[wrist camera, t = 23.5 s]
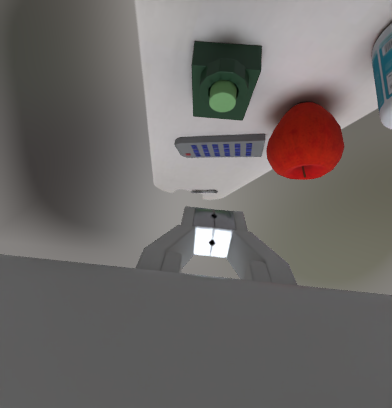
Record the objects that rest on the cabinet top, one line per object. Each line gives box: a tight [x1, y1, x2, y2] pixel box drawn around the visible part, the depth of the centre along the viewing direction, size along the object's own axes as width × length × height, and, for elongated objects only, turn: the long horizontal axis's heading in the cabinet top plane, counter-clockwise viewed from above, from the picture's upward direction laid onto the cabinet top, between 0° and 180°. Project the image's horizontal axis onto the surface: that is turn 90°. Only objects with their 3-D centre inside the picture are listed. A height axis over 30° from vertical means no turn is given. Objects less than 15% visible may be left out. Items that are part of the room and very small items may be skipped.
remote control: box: [175, 134, 265, 158], centre depth 50 cm, size 8×23×2 cm, turn 103°
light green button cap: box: [209, 80, 237, 112], centre depth 26 cm, size 4×4×2 cm
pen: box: [191, 190, 218, 193], centre depth 92 cm, size 1×14×1 cm, turn 109°
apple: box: [266, 102, 344, 179], centre depth 34 cm, size 12×12×13 cm
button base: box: [192, 41, 262, 120], centre depth 29 cm, size 11×9×6 cm
